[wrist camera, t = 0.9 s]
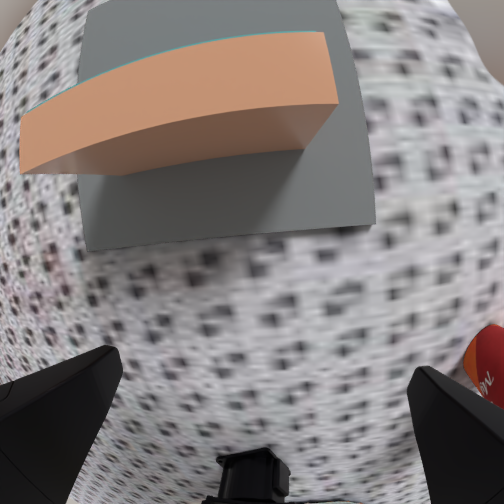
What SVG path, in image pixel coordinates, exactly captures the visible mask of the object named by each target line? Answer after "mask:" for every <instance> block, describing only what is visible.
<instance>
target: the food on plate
mask: <svg viewBox="0 0 504 504" xmlns="http://www.w3.org/2000/svg"><path fill="white" fill-rule="evenodd" d="M306 504H310V503H306ZM312 504H363V503H352V502H350V501H346V502H344V501H338V502H337V501H336V502H326V503H312Z"/></svg>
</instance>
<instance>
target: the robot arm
mask: <svg viewBox="0 0 504 504" xmlns="http://www.w3.org/2000/svg"><path fill="white" fill-rule="evenodd" d="M122 374H123V367H122V363H121V359H120V355H119V351H118V349H117V348H116V347H114V346H109V345H103V346H100V347H98V348H95V349H93V350H91V351H88V352H86V353H83V354H81V355H78V356H76V357H73V358H71V359H68V360H66V361H63V362H61V363H58V364H56V365H53V366H50V367H48V368H45V369H43V370H40V371H38V372H35V373H32V374H30V375H27V376H24V377H22V378H19V379H16V380H15V381H11V382H8V383H5V384H3V385H0V504H66V502H67V499H68V497H69V494H70V492H71V490H72V488H73V485H74V483H75V481H76V478H77V476H78V474H79V472H80V470H81V467H82V465H83V463H84V461H85V459H86V457H87V455H88V452H89V450H90V448H91V446H92V444H93V442H94V440H95V438H96V436H97V434H98V432H99V430H100V428H101V426H102V424H103V422H104V420H105V418H106V416H107V413H108V411H109V409H110V406H111V403H112V401H113V398H114V395H115V393H116V390H117V387H118V385H119V382H120V380H121V377H122ZM407 396H408V401H409V406H410V412H411V417H412V423H413V428H414V433H415V437H416V441H417V444H418V448H419V452H420V456H421V460H422V464H423V468H424V472H425V476H426V481H427V486H428V490H429V495H430V500H431V504H504V410H503V409H502V408H500V407H498V406H497V405H495V404H493V403H491V402H490V401H488V400H486V399H485V398H483V397H481V396H479V395H478V394H476V393H474V392H473V391H471V390H469V389H468V388H466V387H464V386H462V385H461V384H459V383H457V382H456V381H454V380H452V379H451V378H449V377H447V376H446V375H444V374H442V373H440V372H439V371H437V370H435V369H434V368H432V367H430V366H419V367H417V368H416V369H415V371H414V373H413V376H412V378H411V380H410V383H409V385H408V388H407ZM216 462H217V463H218V464H219V465H220V466H222V467H223V472H222V477H221V482H220V487H219V492H218V497H213V496H209V495H207V498H206V500H203V501H202V503H201V504H295V503H294V502H289V503H284V500H285V497H286V496H288V495H289V476H290V474H291V472H290V470H289V468H288V467H287V466H286V465H285V464H284V463H283V462H282V461H281V460H280V459H279V458H277V457H276V455H275V454H274V453H273V452H272V451H271V450H270V449H269V448H261V449H257V450H252V451H247V452H243V453H238V454H232V455H227V456H221V457H217V459H216Z"/></svg>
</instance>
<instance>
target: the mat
mask: <svg viewBox="0 0 504 504" xmlns="http://www.w3.org/2000/svg"><path fill="white" fill-rule="evenodd" d="M282 31H316V32H324V36H325V40H326V44H327V48H328V52H329V56H330V61H331V65H332V70H333V75H334V80H335V85H336V90H337V96H338V101H339V104H338V106H337V107H336V108H335V110H334V111H333V112H332V114H331V115H330V116H329V118H328V119H327V120H326V122H325V123H324V124H323V126H322V127H321V128H320V130H319V131H318V132H317V134H316V135H315V136H314V138H313V139H312V140H311V142H310V143H309V144H308V146H307V147H306V148H305V149H297V150H283V151H272V152H262V153H252V154H244V155H235V156H228V157H220V158H213V159H207V160H200V161H194V162H188V163H182V164H177V165H171V166H166V167H161V168H156V169H151V170H146V171H141V172H137V173H132V174H128V175H124V176H117V175H92V174H77V178H78V190H79V199H80V208H81V216H82V223H83V230H84V236H85V242H86V248H87V252H89V251H97V250H106V249H114V248H123V247H132V246H141V245H150V244H159V243H169V242H178V241H188V240H198V239H208V238H218V237H228V236H239V235H250V234H261V233H272V232H284V231H295V230H307V229H320V228H332V227H345V226H359V225H373V224H376V215H375V197H374V184H373V173H372V163H371V154H370V146H369V139H368V132H367V125H366V119H365V113H364V107H363V101H362V96H361V91H360V86H359V81H358V77H357V72H356V68H355V64H354V60H353V56H352V52H351V48H350V44H349V41H348V37H347V34H346V30H345V27H344V24H343V20H342V17H341V14H340V11H339V8H338V5H337V2H336V0H110V1H107V2H105V3H103V4H101V5H99V6H97V7H95V8H93V9H91V10H89V11H88V15H87V19H86V24H85V29H84V35H83V41H82V47H81V55H80V63H79V72H78V83H80V82H83V81H85V80H87V79H89V78H91V77H93V76H96V75H98V74H100V73H103V72H105V71H108V70H110V69H113V68H115V67H118V66H120V65H123V64H126V63H129V62H131V61H134V60H137V59H140V58H143V57H146V56H149V55H153V54H156V53H159V52H163V51H166V50H170V49H174V48H178V47H182V46H186V45H190V44H195V43H199V42H204V41H209V40H214V39H220V38H226V37H233V36H240V35H248V34H257V33H268V32H282ZM78 83H77V84H78Z"/></svg>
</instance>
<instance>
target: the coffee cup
mask: <svg viewBox="0 0 504 504" xmlns="http://www.w3.org/2000/svg"><path fill="white" fill-rule="evenodd" d="M463 366H464V369H465V371H466V373H467V374H468V376H469V377H470V379H471V380H472V382H473V383H474V385H475V386H476V387H477V389H478V390H479V392H480V393H481V395H482V396H483V398H485V399H486V400H488V401H490V402H491V403H493V404H495V405H497V406H498V407H500V408H502V409H503V410H504V328H502V327H500V326H498V325H495V324H492V325H489V326H487V327H485V328H484V329H482V330H481V331H480V332H479V333H478V334H477V335H476V336H475V337H474V339H473V340H472V342H471V343H470V345H469V347H468V348H467V351H466V353H465V356H464V361H463Z"/></svg>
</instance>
